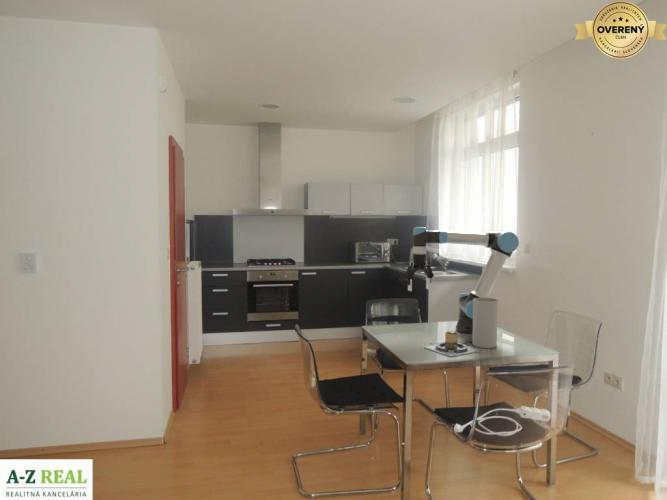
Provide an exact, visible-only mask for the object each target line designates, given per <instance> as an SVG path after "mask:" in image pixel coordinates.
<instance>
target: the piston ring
mask: <svg viewBox="0 0 667 500" xmlns="http://www.w3.org/2000/svg"><path fill="white" fill-rule="evenodd" d="M435 345H436V349H437V350H439V351H443V352H448V348H443V347H442V346H445V341H443V342H442V341H441V342H438V343H435ZM458 347H461V348H460V349H454V352H455V353H463V352H466V351H467V349H468V347H469V346H468V345H466V344H464V343H461V342H458Z"/></svg>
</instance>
